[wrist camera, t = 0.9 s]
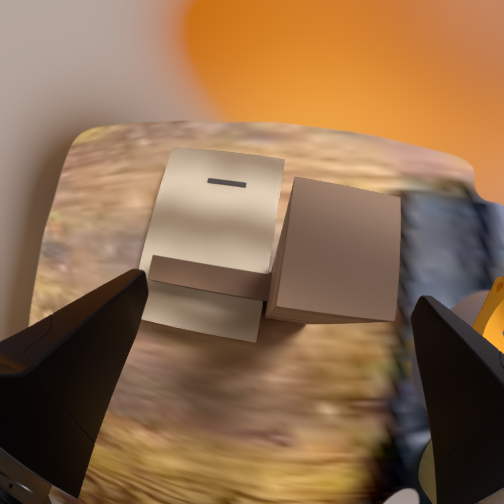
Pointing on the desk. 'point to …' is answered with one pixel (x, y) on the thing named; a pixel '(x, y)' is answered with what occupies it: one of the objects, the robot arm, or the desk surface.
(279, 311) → the tan upright block
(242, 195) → the pine board
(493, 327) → the pipe clamp
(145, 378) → the desk surface
